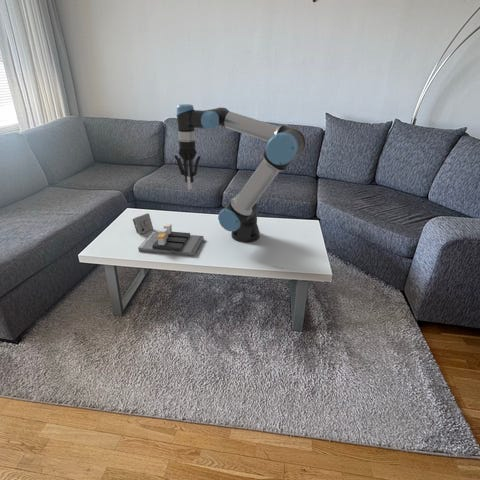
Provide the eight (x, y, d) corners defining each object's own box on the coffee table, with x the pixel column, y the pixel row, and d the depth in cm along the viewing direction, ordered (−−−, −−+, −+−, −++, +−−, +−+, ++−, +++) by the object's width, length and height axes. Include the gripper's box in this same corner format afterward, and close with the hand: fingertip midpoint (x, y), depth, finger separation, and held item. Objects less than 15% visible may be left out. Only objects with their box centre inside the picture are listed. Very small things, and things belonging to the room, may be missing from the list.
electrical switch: (139, 235, 176) (136, 218, 173) (133, 233, 180) (130, 217, 176) (153, 229, 183) (151, 213, 179) (148, 227, 186) (145, 212, 182)
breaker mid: (168, 236, 167) (167, 228, 165) (165, 239, 164) (165, 231, 162) (162, 236, 167) (161, 228, 165) (160, 239, 165) (159, 231, 162)
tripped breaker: (166, 242, 162) (165, 234, 160) (164, 245, 159) (163, 237, 157) (160, 241, 162) (159, 233, 160) (158, 244, 159) (157, 236, 157)
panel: (203, 239, 173) (203, 233, 172) (194, 256, 157) (194, 250, 156) (152, 235, 177) (152, 229, 175) (138, 251, 161) (137, 245, 159)
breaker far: (172, 231, 172) (171, 223, 170) (170, 234, 169) (169, 226, 167) (166, 231, 173) (165, 223, 171) (164, 233, 170) (163, 226, 168)
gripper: (202, 139, 157) (204, 187, 167) (175, 138, 158) (179, 185, 169) (198, 142, 150) (201, 191, 161) (170, 141, 151) (175, 190, 162)
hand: (189, 188), depth 165 cm, fingers closed
